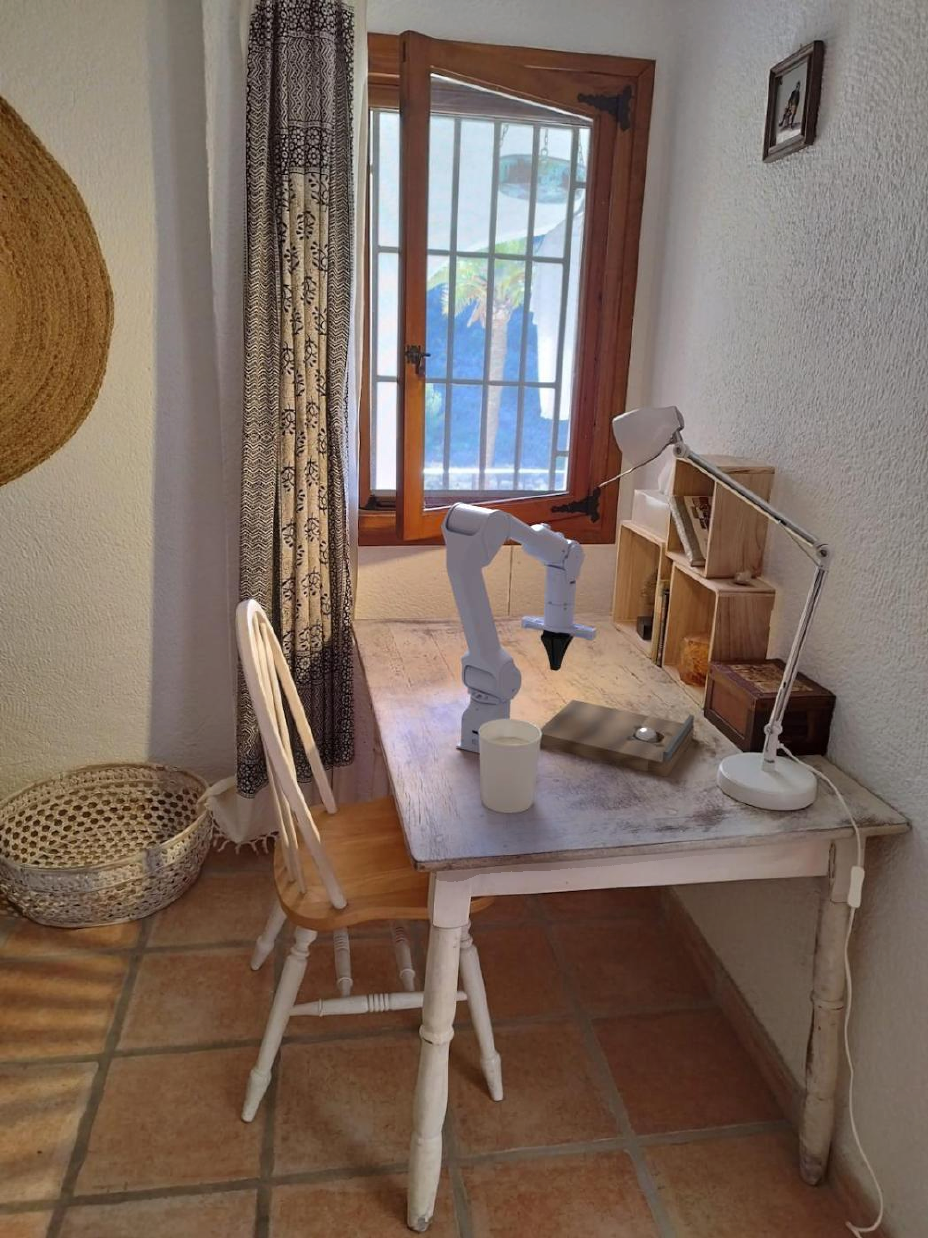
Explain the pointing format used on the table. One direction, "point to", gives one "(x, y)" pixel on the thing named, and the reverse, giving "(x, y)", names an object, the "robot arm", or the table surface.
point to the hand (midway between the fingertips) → (555, 668)
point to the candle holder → (508, 764)
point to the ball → (646, 735)
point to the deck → (617, 737)
